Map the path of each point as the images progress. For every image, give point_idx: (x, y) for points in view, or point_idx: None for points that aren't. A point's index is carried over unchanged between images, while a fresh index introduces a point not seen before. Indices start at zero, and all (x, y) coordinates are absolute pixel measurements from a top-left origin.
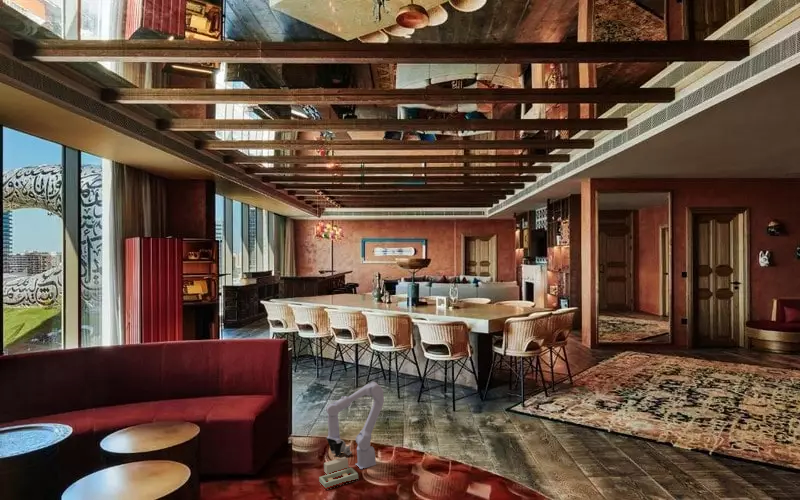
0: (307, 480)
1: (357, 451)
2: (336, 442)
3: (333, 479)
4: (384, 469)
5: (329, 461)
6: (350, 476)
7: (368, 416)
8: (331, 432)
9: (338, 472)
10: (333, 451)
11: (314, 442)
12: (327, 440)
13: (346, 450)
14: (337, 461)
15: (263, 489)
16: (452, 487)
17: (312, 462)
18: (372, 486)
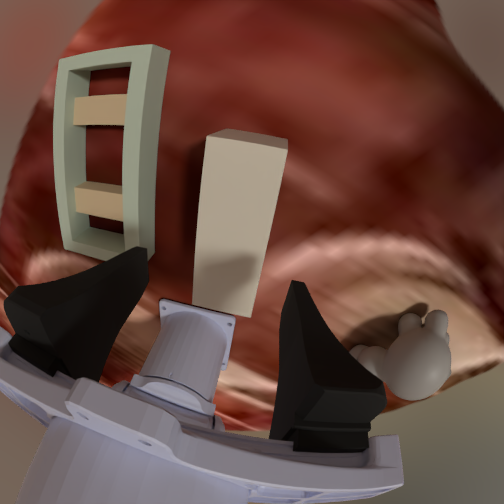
0: (272, 8)
1: (168, 373)
2: (18, 342)
3: (98, 123)
4: (115, 339)
5: (271, 201)
6: (60, 208)
7: None
8: (21, 495)
9: (122, 179)
10: (432, 321)
11: None
12: (352, 368)
13: (360, 363)
14: (216, 245)
15: None
16: None
17: (477, 189)
18: (27, 238)
